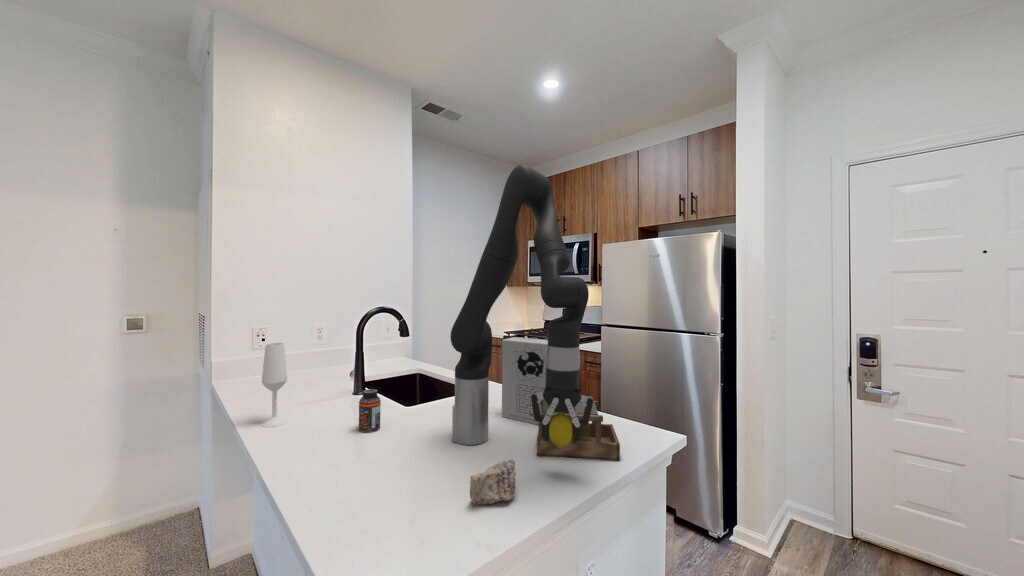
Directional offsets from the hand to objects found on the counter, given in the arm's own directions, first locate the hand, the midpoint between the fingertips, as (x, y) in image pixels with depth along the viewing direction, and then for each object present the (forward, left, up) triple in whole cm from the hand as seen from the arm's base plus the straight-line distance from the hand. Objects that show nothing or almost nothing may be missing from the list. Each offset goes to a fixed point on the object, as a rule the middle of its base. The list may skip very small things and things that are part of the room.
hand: (560, 441), depth 88 cm
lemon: (0, 0, -2) cm, 2 cm away
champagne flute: (-86, +21, -8) cm, 89 cm away
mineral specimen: (-13, -11, -8) cm, 18 cm away
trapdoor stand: (+4, +16, -7) cm, 18 cm away
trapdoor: (+2, +16, +1) cm, 16 cm away
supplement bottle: (-55, +20, -8) cm, 59 cm away
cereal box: (-7, +35, -8) cm, 37 cm away
